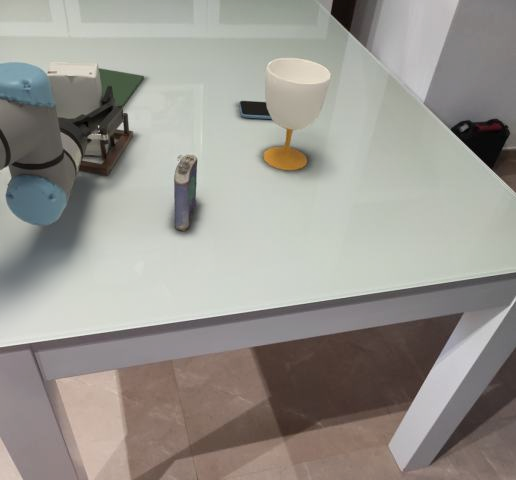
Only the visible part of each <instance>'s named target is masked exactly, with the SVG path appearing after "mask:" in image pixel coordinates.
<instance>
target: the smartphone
mask: <svg viewBox="0 0 516 480" xmlns="http://www.w3.org/2000/svg"><path fill="white" fill-rule="evenodd" d="M238 106H239V112H240V116H241V117H242V118H245V119H246V118H247V119H265V120H266V119H267V120H272V118H271V116H270V114H269V112H268V109H267V106H266V101H257V100H255V101H253V100H240V101H239V103H238Z"/></svg>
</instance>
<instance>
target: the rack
mask: <svg viewBox="0 0 516 480" xmlns="http://www.w3.org/2000/svg"><path fill="white" fill-rule="evenodd" d="M123 115H124V121H123V122H122V124H123V129H118V128H117V129H116V131H115V132H114V133H113V134H112V135H111V137H110V143H109V146H110V148H112V149H111V150H110V151H109V153H108V154H107V155H106V147H105V145H104V144H102V143H101V141H100V147H101V155H102V156H101V160H102V161H103V162H102V163H99V162H95V161H88V160H82V162H81V164H80V167H79V170H78V171H81V172H87V173H92V174H98V175H99V176H106V177H107V176H109V174H110V173H111V172H112V170H113V168H114V166H115V165H116V163H117V162H118V160H119V159H120V157H121V156H122V154H123V152H124V151H125V149H126V148H127V146H128V145H129V143H130V141H132V138H133V137H134V130H130V123H129V114H128V112H123ZM115 139H116V140H117V141H116V140H115Z"/></svg>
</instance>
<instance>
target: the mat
mask: <svg viewBox="0 0 516 480" xmlns="http://www.w3.org/2000/svg"><path fill="white" fill-rule="evenodd" d="M99 73H100V80H101V86H102V92H103V98H104V95H105V92H106V90H107V87H108V86H112V90H113V98H115V99H116V106H117V105H121V106H123V107H124V106H125V105H126V104H127V102H128V101H129V100H130V98H131V97H132V96H133V94H134V93H135V91H136V90H137V89H138V87H139V86H140V85H141V83H142V82H143V80H145V76H144V75H141V74H135V73H129V72H124V71H123V72H122V71H116V70H111V69H105V68H100V67H99Z"/></svg>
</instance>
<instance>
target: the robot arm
mask: <svg viewBox="0 0 516 480" xmlns="http://www.w3.org/2000/svg"><path fill="white" fill-rule="evenodd" d="M102 103H103V106H101V107H99V108H97V109H96V110H94V111H92V112H91V113H89V114H87V115H84V114H81V115H80V116H78V117H76V118H74V119H73V118H72V119H67V118H60V117H59V118H58V117H57V111H56V102H55V100H54V95H53V91H52V87H51V85H50V81H49V78H48V76H47V73H46V71H44V70H43V69H42V68H40V67H39V66H36V65H33V64H30V63H27V62H19V61H18V62H17V61H11V62H10V61H9V62H8V61H7V62H3V63H0V171H2V170H3V169H5V168H8V170H9V174H10V180H9V182H8V183H7V187H6V192H5V201H6V205H7V207H8V208H9V210H10V211H11V213H12V214H13V215H14V216H16V218H17V219H19V220H21V221H22V222H23V223H24V222H25V223H27V224H30V225H34V226H48V225H51V224H54V223H56V222H57V221H58V220H59V219H60V217H61V216H62V214H63V211H64V210H65V209H66V208H67V206H68V203H69V198H70V195H71V191H72V188H73V186H74V183H75V180H76V178H77V175H78V172H79V171H80V170H79V167H80V164H81V162H82V161H83V160H84V156H85V155H84V154H85V151H86V147H87V144H89V143H90V142H91V141H92V140H100V141H101V143H102V144H104V145H107V144H109V145H110V143H109V138H110V137H111V135H112V134H113V133H114V132H115V131H116V129H118V128H119V127H120V126H121V125H122V124H123V121H124V115H123V113H124V106H121V105H117V106H116V99H115V98H113V90H112V86H108V87H107V90H106V92H105V95H104V98H103V100H102Z"/></svg>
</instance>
